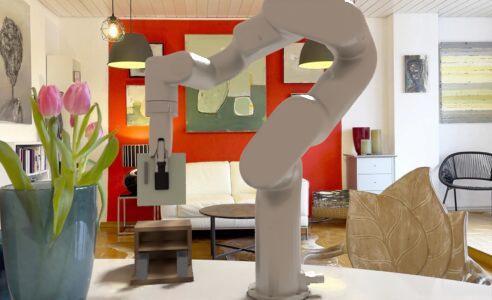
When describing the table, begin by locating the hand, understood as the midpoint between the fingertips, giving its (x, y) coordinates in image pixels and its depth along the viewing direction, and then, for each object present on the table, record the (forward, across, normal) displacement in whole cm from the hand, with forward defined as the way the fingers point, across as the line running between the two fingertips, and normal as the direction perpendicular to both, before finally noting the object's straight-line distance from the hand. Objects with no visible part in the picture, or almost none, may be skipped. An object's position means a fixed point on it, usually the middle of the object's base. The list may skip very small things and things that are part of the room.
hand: (162, 188), depth 97 cm
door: (+4, 0, 0) cm, 4 cm away
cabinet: (+21, -6, 0) cm, 22 cm away
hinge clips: (+21, 0, 0) cm, 21 cm away
